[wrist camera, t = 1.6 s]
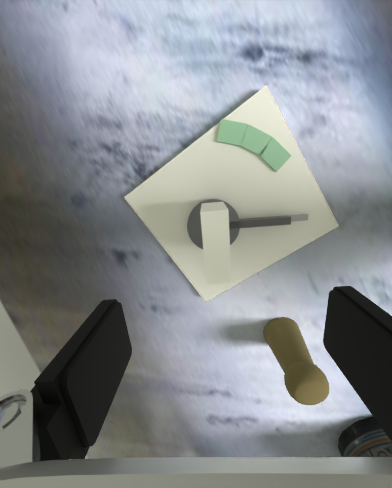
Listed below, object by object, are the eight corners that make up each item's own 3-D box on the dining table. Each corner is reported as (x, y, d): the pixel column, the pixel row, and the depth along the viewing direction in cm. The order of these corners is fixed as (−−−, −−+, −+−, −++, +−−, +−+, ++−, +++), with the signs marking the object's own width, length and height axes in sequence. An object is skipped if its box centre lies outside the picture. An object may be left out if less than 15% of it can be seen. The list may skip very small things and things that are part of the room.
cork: (256, 327, 35) (278, 390, 25) (288, 311, 34) (324, 370, 24) (274, 350, 37) (301, 419, 26) (305, 335, 35) (346, 402, 25)
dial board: (262, 89, 25) (267, 82, 23) (332, 223, 29) (341, 226, 27) (127, 195, 29) (122, 197, 27) (205, 296, 34) (205, 304, 32)
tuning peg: (190, 249, 29) (182, 285, 20) (185, 200, 27) (173, 213, 17) (285, 243, 29) (328, 277, 19) (288, 192, 26) (337, 200, 17)
